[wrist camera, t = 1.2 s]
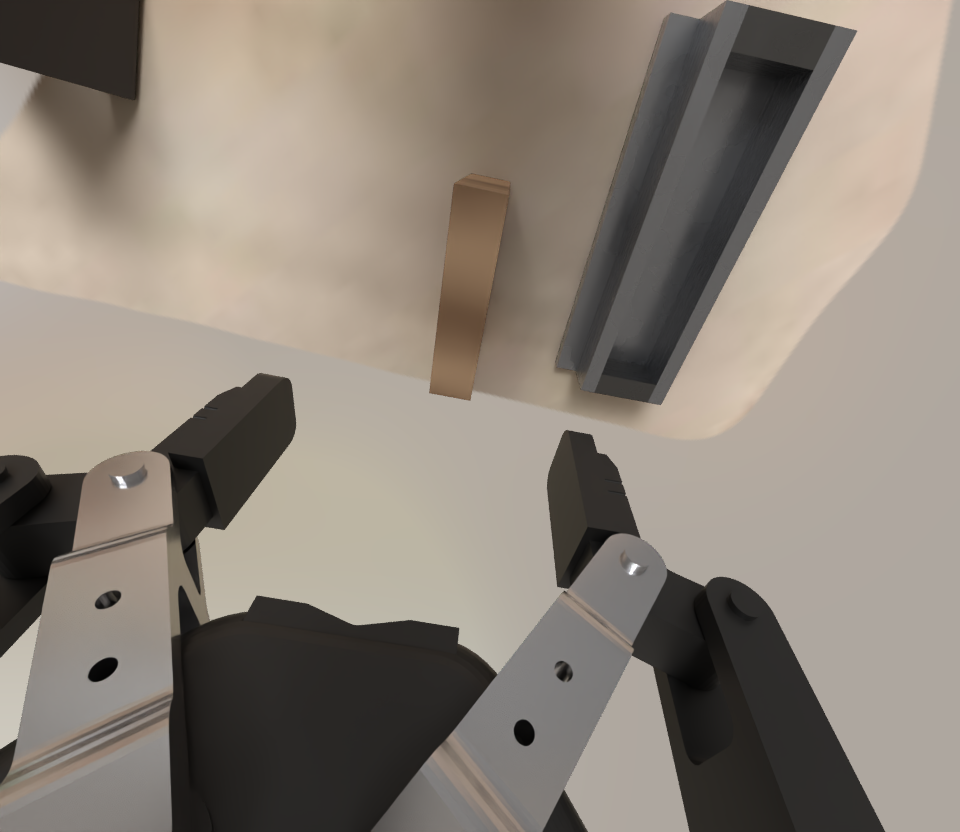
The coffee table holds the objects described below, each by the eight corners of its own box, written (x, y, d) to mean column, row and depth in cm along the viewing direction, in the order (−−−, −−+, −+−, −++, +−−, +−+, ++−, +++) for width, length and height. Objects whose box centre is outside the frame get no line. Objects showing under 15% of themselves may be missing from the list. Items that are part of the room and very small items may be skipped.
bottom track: (664, 18, 20) (693, -8, 17) (828, 56, 21) (889, 38, 17) (555, 361, 31) (560, 386, 28) (663, 381, 32) (680, 408, 29)
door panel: (471, 173, 25) (453, 183, 17) (510, 181, 25) (509, 195, 17) (449, 334, 31) (429, 393, 23) (480, 340, 31) (470, 400, 24)
